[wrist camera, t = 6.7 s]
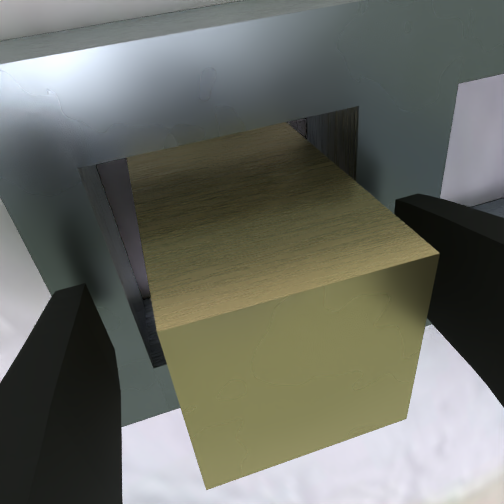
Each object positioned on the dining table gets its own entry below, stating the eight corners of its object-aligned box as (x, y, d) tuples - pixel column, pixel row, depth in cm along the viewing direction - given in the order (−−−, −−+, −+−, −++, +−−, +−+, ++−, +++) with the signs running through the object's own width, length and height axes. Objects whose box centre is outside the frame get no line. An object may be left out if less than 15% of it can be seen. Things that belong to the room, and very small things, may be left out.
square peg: (283, 120, 12) (440, 252, 7) (290, 248, 15) (406, 418, 9) (125, 151, 12) (156, 332, 6) (161, 281, 14) (206, 489, 9)
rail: (627, -64, 12) (753, -69, 10) (532, 228, 18) (598, 268, 16) (-24, 45, 9) (-63, 75, 7) (115, 354, 15) (119, 427, 13)
